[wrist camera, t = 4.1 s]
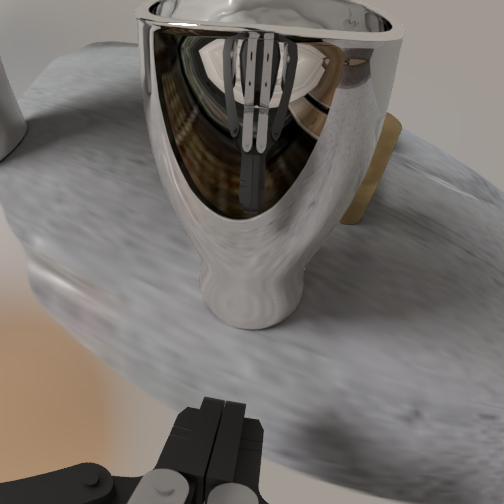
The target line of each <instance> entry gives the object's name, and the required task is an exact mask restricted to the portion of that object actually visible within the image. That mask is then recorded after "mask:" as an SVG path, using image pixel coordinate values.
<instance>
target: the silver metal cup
mask: <svg viewBox="0 0 504 504" xmlns="http://www.w3.org/2000/svg"><path fill="white" fill-rule="evenodd" d="M135 18H136V21H137V30H138V46H139V63H140V77H141V87H142V96H143V105H144V113H145V118H146V124H147V129H148V134H149V139H150V144H151V149H152V152H153V156H154V159H155V163H156V166H157V169H158V173H159V176H160V179H161V183H162V185H163V188H164V190H165V192H166V194H167V197H168V199H169V201H170V203H171V205H172V208H173V210H174V212H175V214H176V216H177V218H178V219H179V221H180V223H181V225H182V227H183V228H184V230H185V232H186V234H187V235H188V237H189V239H190V241H191V242H192V244H193V246H194V247H195V249H196V251H197V253H198V254H199V256H200V259H201V267H200V275H199V285H200V291H201V295H202V297H203V300H204V302H205V304H206V305H207V307H208V308H209V310H210V311H211V312H212V313H213V314H214V315H215V316H216V317H217V318H219V319H220V320H222V321H223V322H225V323H227V324H229V325H231V326H234V327H237V328H241V329H248V330H256V329H264V328H268V327H271V326H273V325H276V324H278V323H280V322H281V321H283V320H284V319H286V318H287V317H288V316H289V315H290V314H291V313H292V312H293V311H294V310H295V308H296V307H297V305H298V304H299V302H300V299H301V296H302V293H303V286H304V270H305V267H306V265H307V263H308V262H309V261H310V259H311V258H312V257H313V256H314V254H315V253H316V252H317V251H318V250H319V248H320V247H321V246H322V245H323V243H324V242H325V241H326V239H327V238H328V237H329V235H330V234H331V233H332V232H333V230H334V229H335V228H336V226H337V225H338V223H339V222H340V220H341V219H342V217H343V216H344V214H345V212H346V211H347V209H348V208H349V206H350V205H351V203H352V201H353V200H354V198H355V196H356V194H357V192H358V190H359V188H360V186H361V183H362V181H363V179H364V177H365V175H366V172H367V170H368V168H369V166H370V163H371V161H372V158H373V155H374V152H375V149H376V146H377V143H378V140H379V137H380V134H381V131H382V128H383V124H384V121H385V117H386V113H387V109H388V105H389V101H390V97H391V93H392V88H393V83H394V79H395V73H396V69H397V64H398V58H399V54H400V49H401V45H402V41H403V38H404V36H405V29H404V27H403V26H402V25H401V23H400V22H398V21H397V20H396V19H395V18H393V17H392V16H390V15H389V14H387V13H385V12H383V11H382V10H379V9H377V8H376V7H373V6H371V5H369V4H366V3H364V2H361V1H359V0H148V1H146V2H144V3H143V4H141V5H140V6H139V7H138V8H137V9H136V11H135Z"/></svg>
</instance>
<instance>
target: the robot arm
mask: <svg viewBox="0 0 504 504" xmlns="http://www.w3.org/2000/svg"><path fill="white" fill-rule="evenodd" d="M26 130H27V124H26V121H25V119H24V117H23V115H22V112H21V110H20V108H19V105H18V103H17V100H16V98H15V96H14V93H13V90H12V88H11V85H10V83H9V80H8V77H7V75H6V72H5V69H4V67H3V64H2V61H1V58H0V161H1V160H2V159H3V158H4V157H6V156H7V155H8V154H9V153H10V152H11V151H12V150H13V149H14V148H15V147H16V146H17V145H18V143H19V142H20V141H21V139H22V138H23V137H24V135H25V133H26ZM224 405H225V407H224ZM245 408H246V404H243V403H237V402H231V401H226V403H225V400H220V399H214V398H209V397H204V399H203V402H202V405H201V408H200V409H195V408H191V407H187V408H186V409H185V410H183V411H182V412H181V413H180V414H178V416H177V418H176V421H175V423H174V426H173V428H172V430H171V433H170V435H169V437H168V439H167V441H166V444H165V446H164V448H163V451H162V453H161V455H160V457H159V460H158V462H157V464H156V466H155V468H154V469H153V470H152V471H149V472H148V473H146V474H145V475H144V476H140V477H119V476H111V474H110V472H109V471H108V470H107V469H106V468H104V467H103V466H101V465H99V464H95V463H81V464H78V465H74V466H71V467H67V468H64V469H60V470H57V471H53V472H49V473H45V474H41V475H37V476H33V477H29V478H25V479H20V480H15V481H10V482H4V483H0V504H268V503H267V502H266V501H265V500H264V499H263V498H262V496H261V495H260V493H259V489H258V484H259V475H260V465H261V455H262V443H263V433H264V430H263V428H262V426H261V423H260V421H259V420H257V419H250V418H244V414H245ZM204 501H205V503H204Z"/></svg>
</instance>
